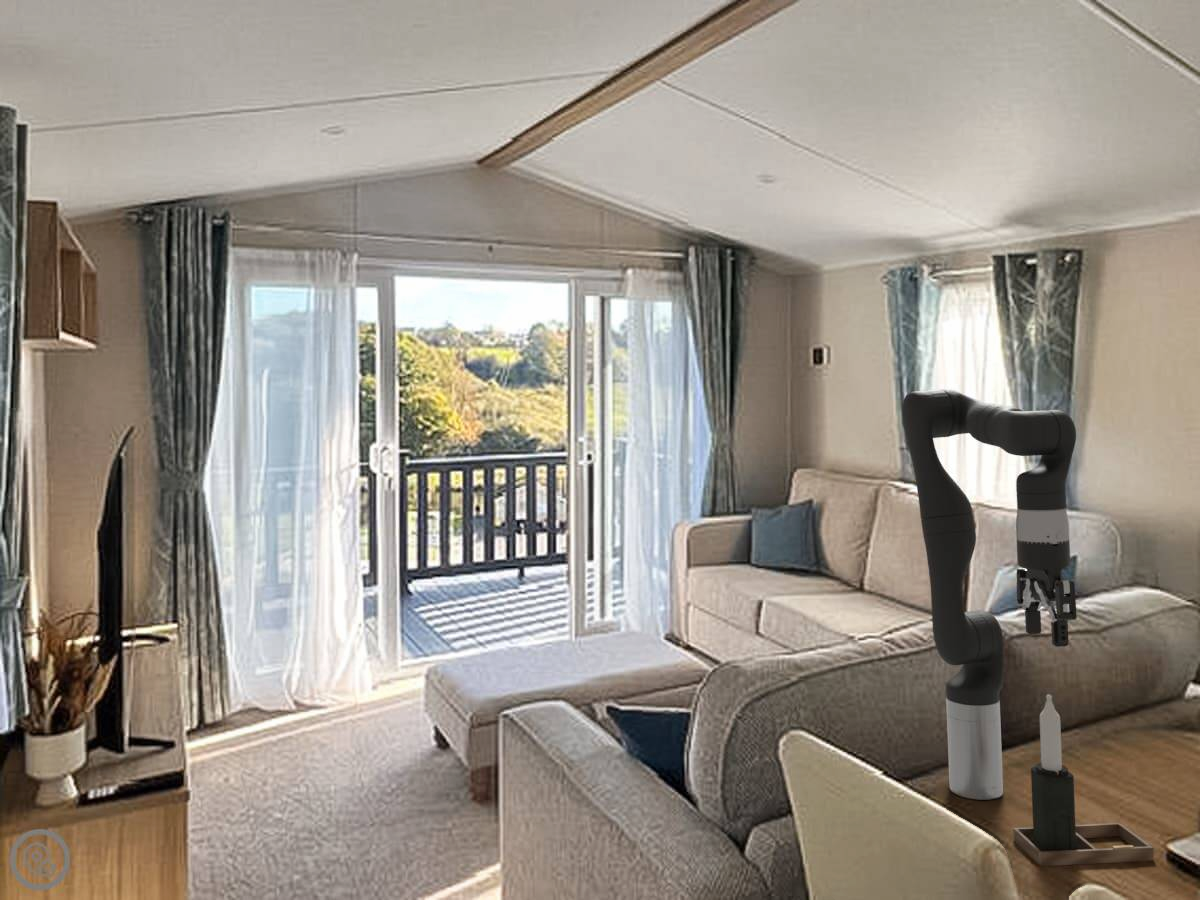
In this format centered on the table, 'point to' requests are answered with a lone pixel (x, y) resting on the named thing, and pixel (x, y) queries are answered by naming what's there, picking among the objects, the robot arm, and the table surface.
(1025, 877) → the table surface
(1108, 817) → the table surface
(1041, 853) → the divided wooden tray
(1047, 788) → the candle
